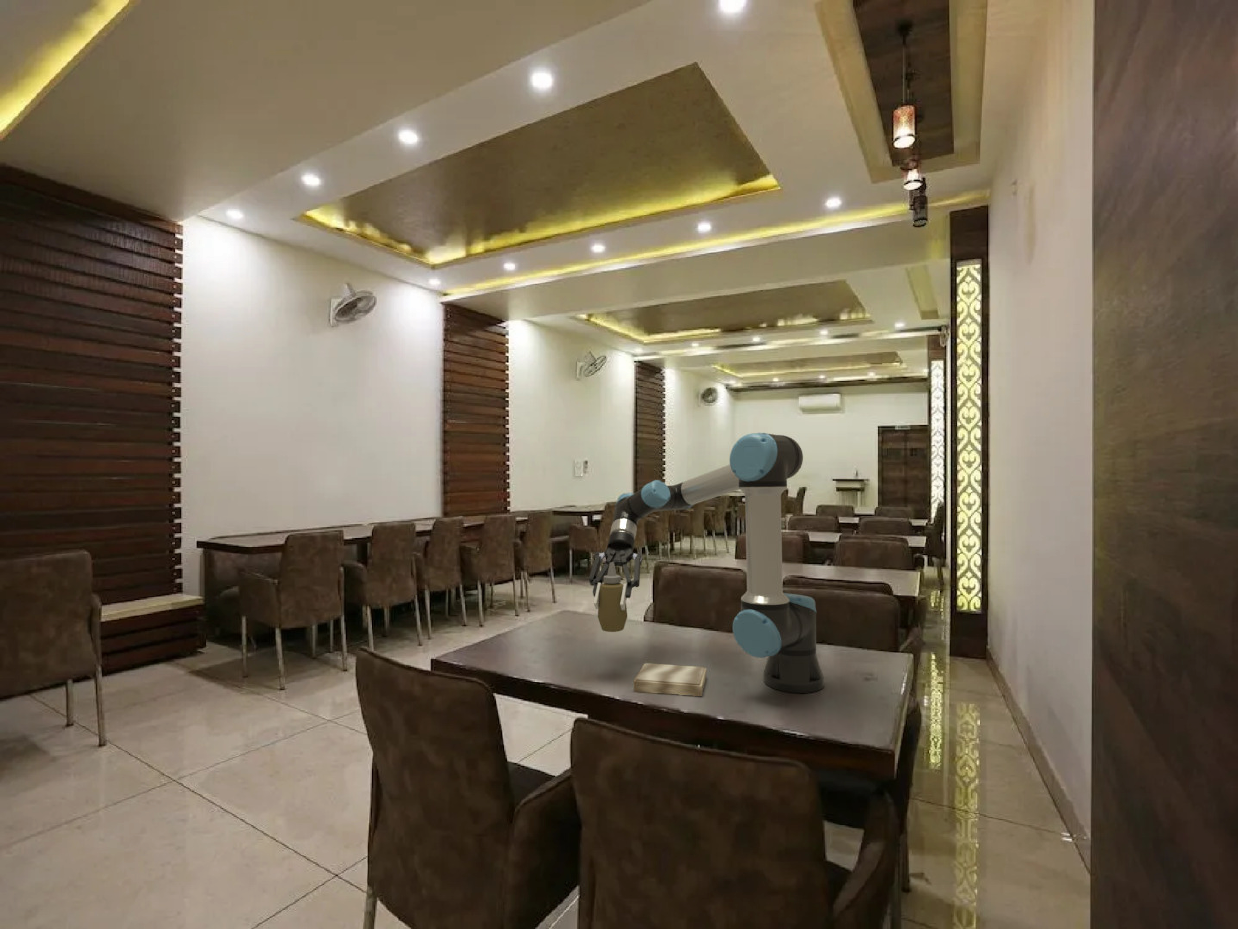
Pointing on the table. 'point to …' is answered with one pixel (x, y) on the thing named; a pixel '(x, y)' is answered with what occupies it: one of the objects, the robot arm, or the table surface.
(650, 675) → the stand
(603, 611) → the squeeze bottle
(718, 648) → the table surface
